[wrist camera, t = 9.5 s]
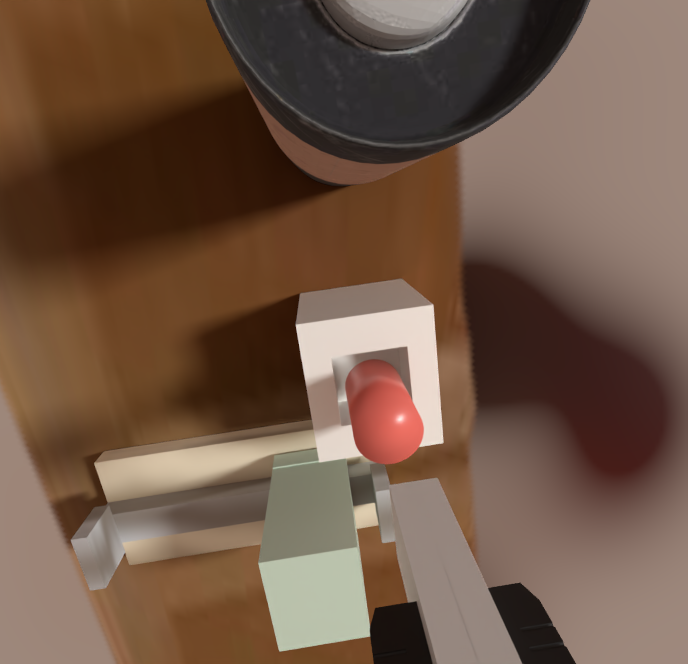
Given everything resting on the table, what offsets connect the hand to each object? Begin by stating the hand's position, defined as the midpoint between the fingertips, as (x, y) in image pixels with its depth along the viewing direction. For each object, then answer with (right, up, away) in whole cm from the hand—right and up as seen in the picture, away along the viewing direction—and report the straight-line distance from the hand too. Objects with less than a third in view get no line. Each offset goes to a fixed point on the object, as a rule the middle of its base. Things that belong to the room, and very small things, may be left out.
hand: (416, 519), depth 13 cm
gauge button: (-1, +3, +10) cm, 10 cm away
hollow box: (-1, +5, +17) cm, 18 cm away
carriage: (-4, -6, +18) cm, 19 cm away
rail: (-9, -6, +20) cm, 23 cm away
